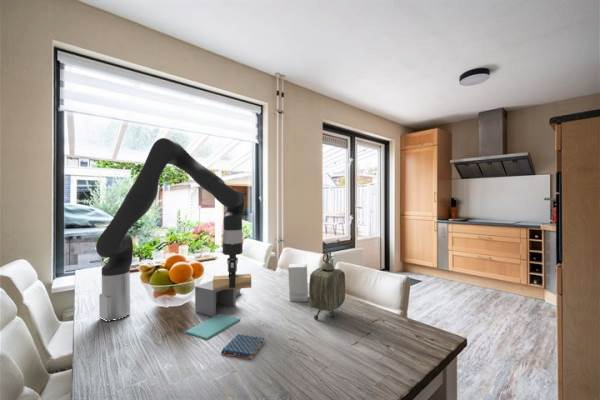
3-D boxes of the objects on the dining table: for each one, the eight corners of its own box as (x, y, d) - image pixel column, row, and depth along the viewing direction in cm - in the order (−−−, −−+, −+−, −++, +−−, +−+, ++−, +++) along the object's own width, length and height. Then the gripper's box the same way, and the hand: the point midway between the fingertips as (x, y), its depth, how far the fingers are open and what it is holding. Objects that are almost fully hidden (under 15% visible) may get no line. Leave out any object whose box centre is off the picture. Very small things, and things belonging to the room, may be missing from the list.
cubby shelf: (213, 316, 105) (213, 290, 105) (195, 311, 110) (195, 286, 110) (235, 305, 116) (235, 281, 116) (218, 301, 121) (217, 278, 121)
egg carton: (233, 300, 122) (233, 291, 122) (218, 299, 123) (217, 291, 123) (242, 292, 133) (242, 284, 133) (228, 292, 134) (228, 283, 134)
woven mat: (266, 342, 86) (266, 336, 86) (251, 362, 76) (251, 355, 76) (237, 338, 89) (237, 332, 89) (219, 356, 79) (219, 349, 79)
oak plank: (251, 287, 103) (251, 277, 103) (212, 290, 99) (213, 279, 99) (250, 283, 108) (250, 273, 108) (213, 286, 104) (213, 275, 104)
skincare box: (308, 297, 125) (307, 263, 125) (307, 302, 118) (306, 266, 119) (290, 296, 126) (290, 263, 126) (288, 301, 119) (288, 266, 119)
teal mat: (206, 339, 87) (206, 337, 87) (186, 332, 92) (186, 330, 92) (240, 320, 101) (240, 318, 101) (220, 315, 106) (220, 313, 106)
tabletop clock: (326, 307, 113) (325, 247, 113) (346, 311, 108) (345, 249, 108) (309, 320, 100) (308, 253, 100) (331, 326, 96) (330, 255, 96)
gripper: (223, 238, 110) (223, 280, 110) (221, 244, 96) (221, 292, 96) (242, 238, 111) (242, 279, 111) (243, 244, 97) (242, 290, 97)
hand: (232, 285), depth 104 cm, fingers closed on oak plank, 5 cm apart
